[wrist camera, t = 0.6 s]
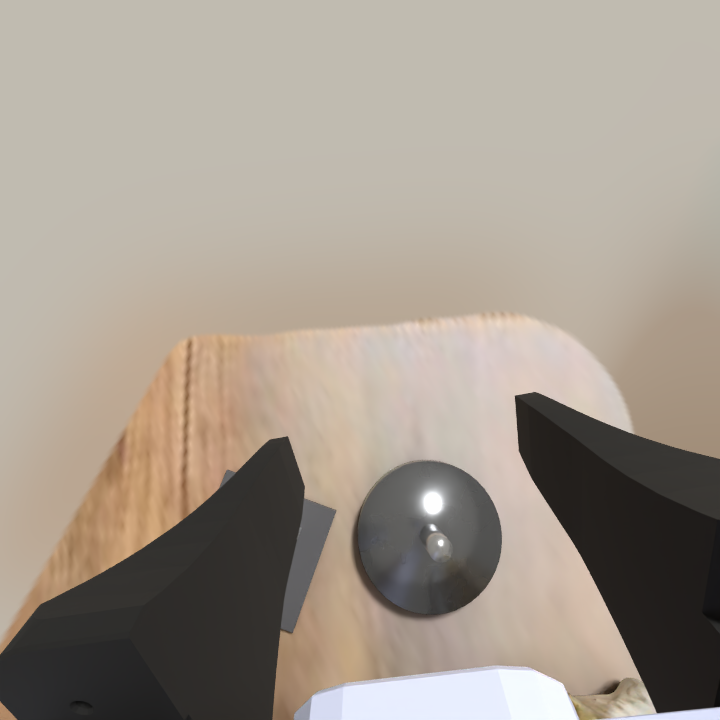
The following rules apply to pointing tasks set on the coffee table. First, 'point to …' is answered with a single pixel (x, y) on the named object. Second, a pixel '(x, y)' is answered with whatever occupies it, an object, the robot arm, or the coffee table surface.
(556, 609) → the coffee table surface
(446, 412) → the coffee table surface
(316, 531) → the mat
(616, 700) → the ceramic sculpture
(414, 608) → the hub
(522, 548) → the coffee table surface
